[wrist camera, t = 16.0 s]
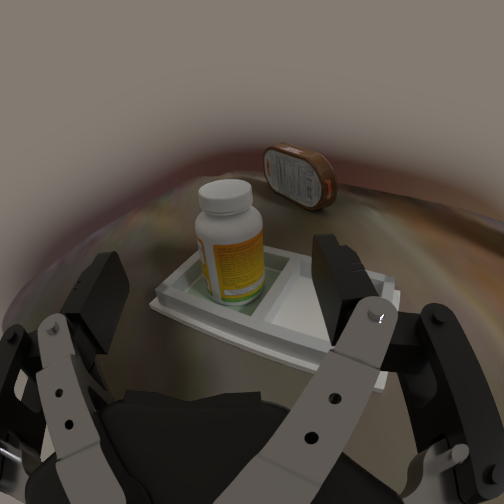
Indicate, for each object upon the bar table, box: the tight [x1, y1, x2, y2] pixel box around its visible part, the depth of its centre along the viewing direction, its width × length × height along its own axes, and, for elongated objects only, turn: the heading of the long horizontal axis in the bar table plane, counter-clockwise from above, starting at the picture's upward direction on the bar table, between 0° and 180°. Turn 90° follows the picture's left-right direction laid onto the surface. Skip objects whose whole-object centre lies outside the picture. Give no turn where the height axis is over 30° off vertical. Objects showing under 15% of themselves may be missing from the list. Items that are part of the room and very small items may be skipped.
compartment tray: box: [149, 245, 400, 393], centre depth 24 cm, size 11×21×2 cm, turn 63°
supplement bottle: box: [195, 179, 265, 306], centre depth 23 cm, size 5×5×10 cm
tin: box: [263, 143, 338, 211], centre depth 41 cm, size 15×3×8 cm, turn 31°
